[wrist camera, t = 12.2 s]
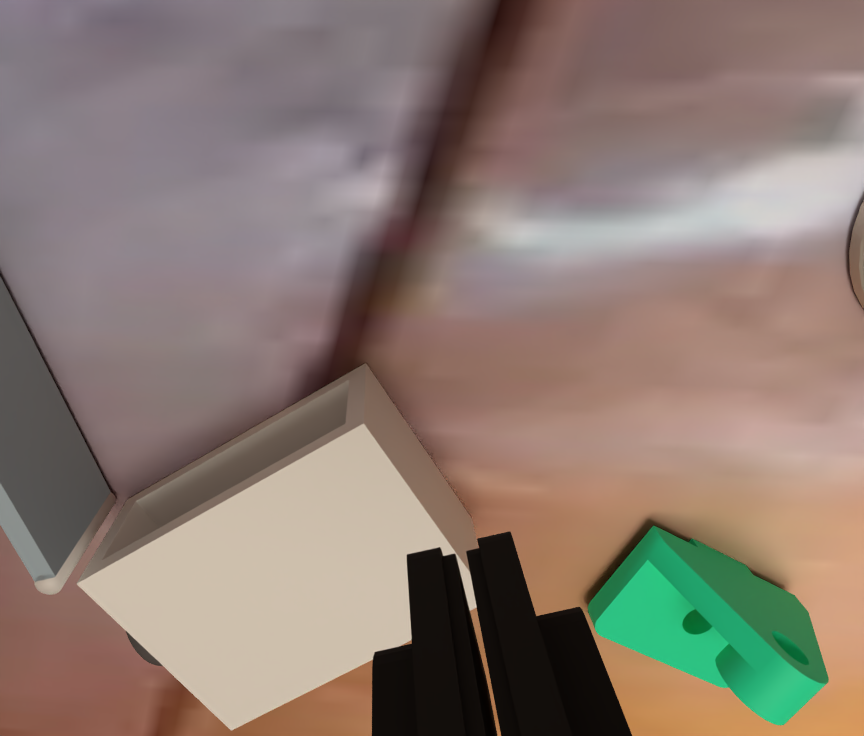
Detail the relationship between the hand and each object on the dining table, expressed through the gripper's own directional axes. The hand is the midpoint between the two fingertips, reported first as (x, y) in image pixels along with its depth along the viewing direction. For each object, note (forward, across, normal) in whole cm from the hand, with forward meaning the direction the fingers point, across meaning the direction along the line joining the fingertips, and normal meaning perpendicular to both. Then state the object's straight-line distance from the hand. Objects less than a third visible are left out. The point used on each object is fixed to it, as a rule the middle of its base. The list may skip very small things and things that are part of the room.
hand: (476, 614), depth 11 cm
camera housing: (+25, +9, +14) cm, 30 cm away
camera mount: (+26, -13, +26) cm, 39 cm away
